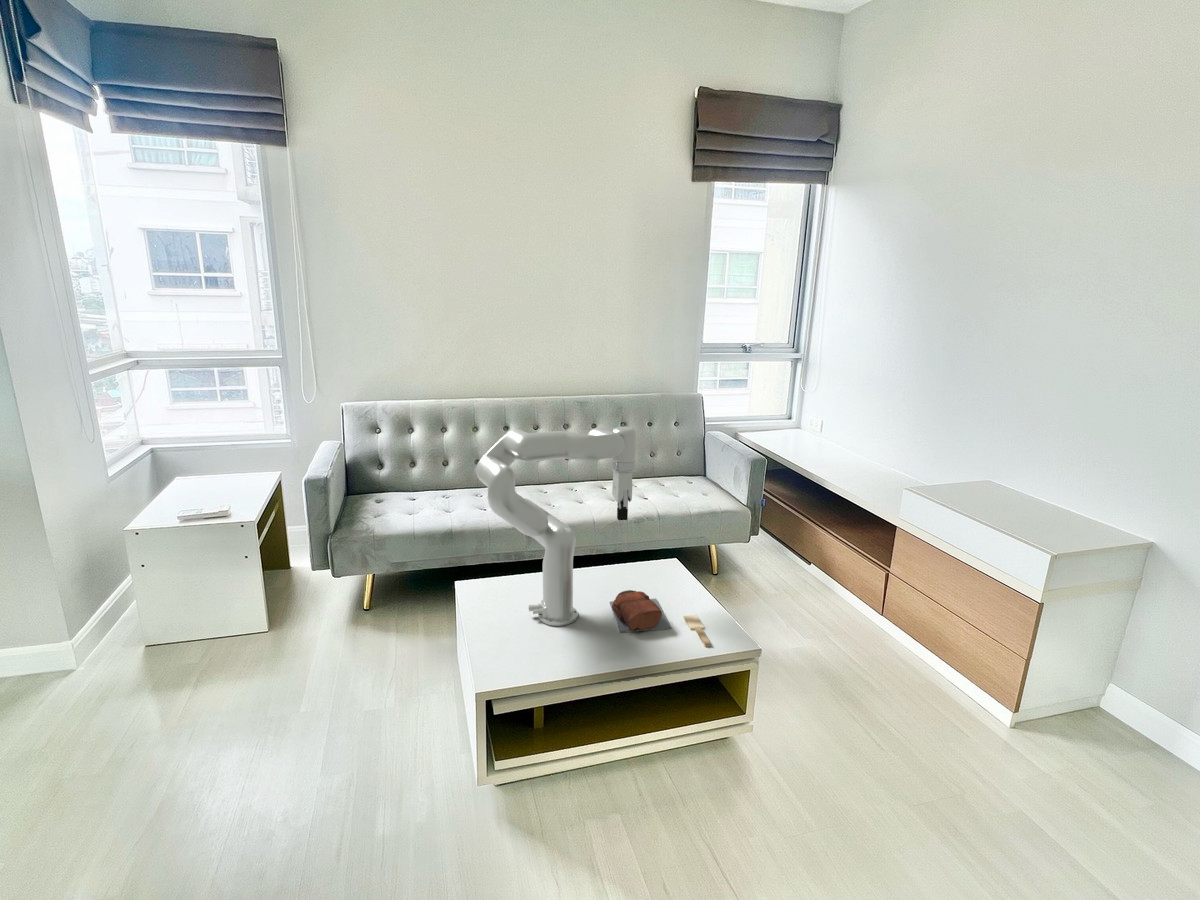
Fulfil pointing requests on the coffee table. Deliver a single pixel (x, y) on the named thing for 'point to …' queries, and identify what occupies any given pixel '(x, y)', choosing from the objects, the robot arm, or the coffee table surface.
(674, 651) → the coffee table surface
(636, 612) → the wooden figurine
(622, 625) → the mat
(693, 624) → the turner
